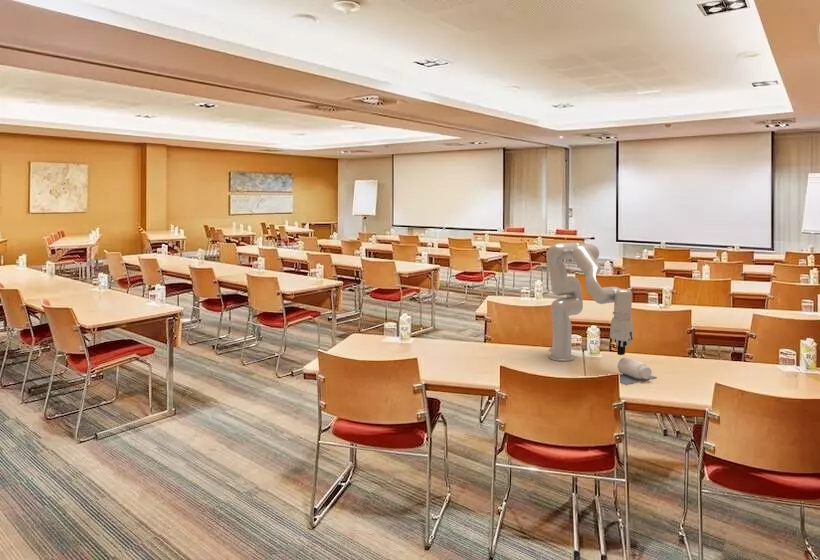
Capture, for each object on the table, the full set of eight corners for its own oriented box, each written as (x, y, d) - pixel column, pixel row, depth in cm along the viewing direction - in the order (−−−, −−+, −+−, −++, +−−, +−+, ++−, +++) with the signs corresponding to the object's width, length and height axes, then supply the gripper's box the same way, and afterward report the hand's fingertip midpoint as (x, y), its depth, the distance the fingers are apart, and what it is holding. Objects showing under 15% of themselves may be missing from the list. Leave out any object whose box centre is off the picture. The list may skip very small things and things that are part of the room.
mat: (605, 378, 270) (605, 377, 269) (635, 371, 279) (635, 371, 279) (626, 384, 259) (626, 384, 259) (657, 377, 269) (657, 377, 269)
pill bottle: (618, 375, 275) (641, 384, 261) (615, 359, 274) (638, 367, 260) (631, 370, 277) (655, 378, 263) (629, 354, 276) (652, 361, 262)
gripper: (604, 314, 276) (602, 352, 278) (629, 319, 263) (628, 359, 265) (615, 312, 279) (614, 350, 281) (641, 317, 266) (639, 357, 268)
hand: (621, 354), depth 273 cm, fingers closed
